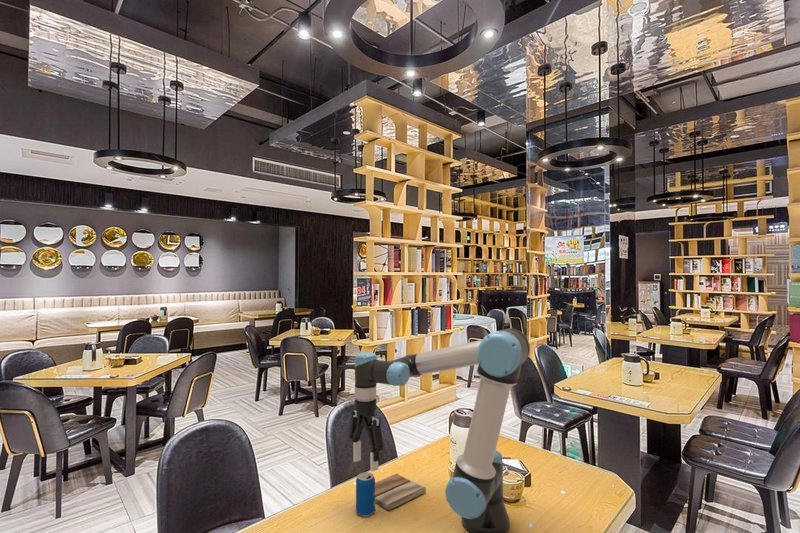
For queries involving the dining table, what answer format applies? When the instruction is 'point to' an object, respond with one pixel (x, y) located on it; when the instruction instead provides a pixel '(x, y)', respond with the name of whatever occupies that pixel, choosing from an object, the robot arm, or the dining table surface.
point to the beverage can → (365, 494)
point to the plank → (399, 495)
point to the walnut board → (389, 484)
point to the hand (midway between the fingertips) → (365, 465)
